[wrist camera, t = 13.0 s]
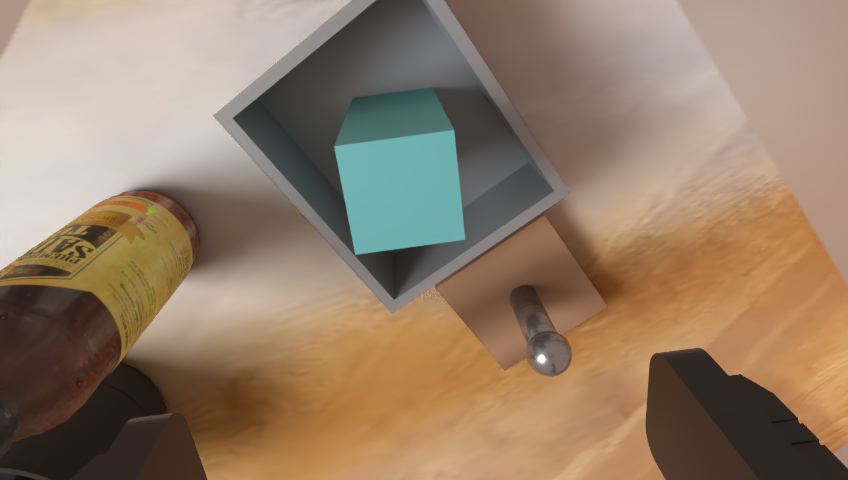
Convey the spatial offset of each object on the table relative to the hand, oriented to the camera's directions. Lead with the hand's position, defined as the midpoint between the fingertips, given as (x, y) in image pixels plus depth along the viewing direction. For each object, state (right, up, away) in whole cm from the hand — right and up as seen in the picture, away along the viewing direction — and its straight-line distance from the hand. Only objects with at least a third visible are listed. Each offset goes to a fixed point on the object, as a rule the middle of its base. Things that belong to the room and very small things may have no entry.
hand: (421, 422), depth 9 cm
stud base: (+6, 0, +26) cm, 27 cm away
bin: (-1, +10, +22) cm, 24 cm away
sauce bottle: (-17, +4, +24) cm, 29 cm away
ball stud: (+6, -1, +25) cm, 26 cm away
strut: (-1, +9, +21) cm, 23 cm away
